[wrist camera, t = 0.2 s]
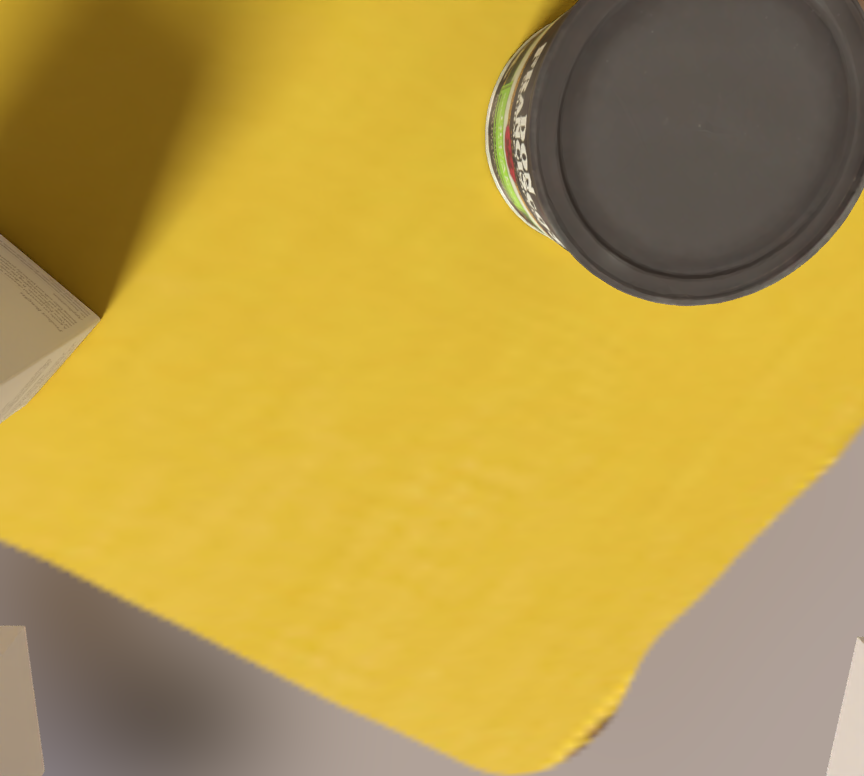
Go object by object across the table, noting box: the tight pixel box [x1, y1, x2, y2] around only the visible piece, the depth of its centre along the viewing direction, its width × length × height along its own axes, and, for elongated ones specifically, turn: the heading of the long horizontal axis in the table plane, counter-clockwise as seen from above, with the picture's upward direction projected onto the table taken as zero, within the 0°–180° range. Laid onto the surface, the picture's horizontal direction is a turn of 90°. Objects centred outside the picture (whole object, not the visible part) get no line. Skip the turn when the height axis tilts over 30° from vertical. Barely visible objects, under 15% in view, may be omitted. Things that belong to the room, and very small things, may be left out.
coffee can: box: [485, 0, 864, 306], centre depth 30 cm, size 10×10×14 cm
